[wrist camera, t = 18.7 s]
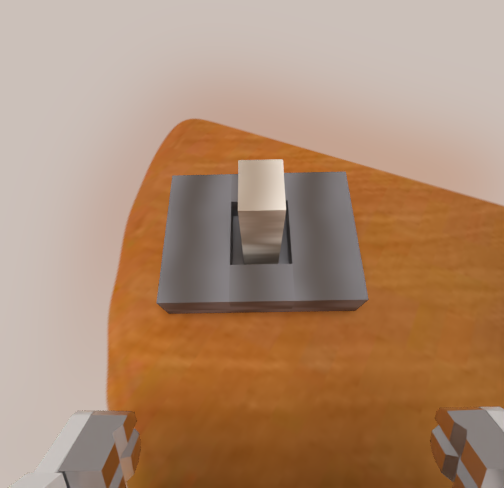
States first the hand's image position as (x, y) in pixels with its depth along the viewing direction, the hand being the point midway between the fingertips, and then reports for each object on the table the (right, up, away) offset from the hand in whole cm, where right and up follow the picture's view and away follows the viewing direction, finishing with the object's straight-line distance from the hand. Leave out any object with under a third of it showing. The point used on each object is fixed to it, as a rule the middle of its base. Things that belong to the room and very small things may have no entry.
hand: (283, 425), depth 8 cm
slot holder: (0, +4, +21) cm, 21 cm away
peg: (0, +5, +20) cm, 20 cm away
